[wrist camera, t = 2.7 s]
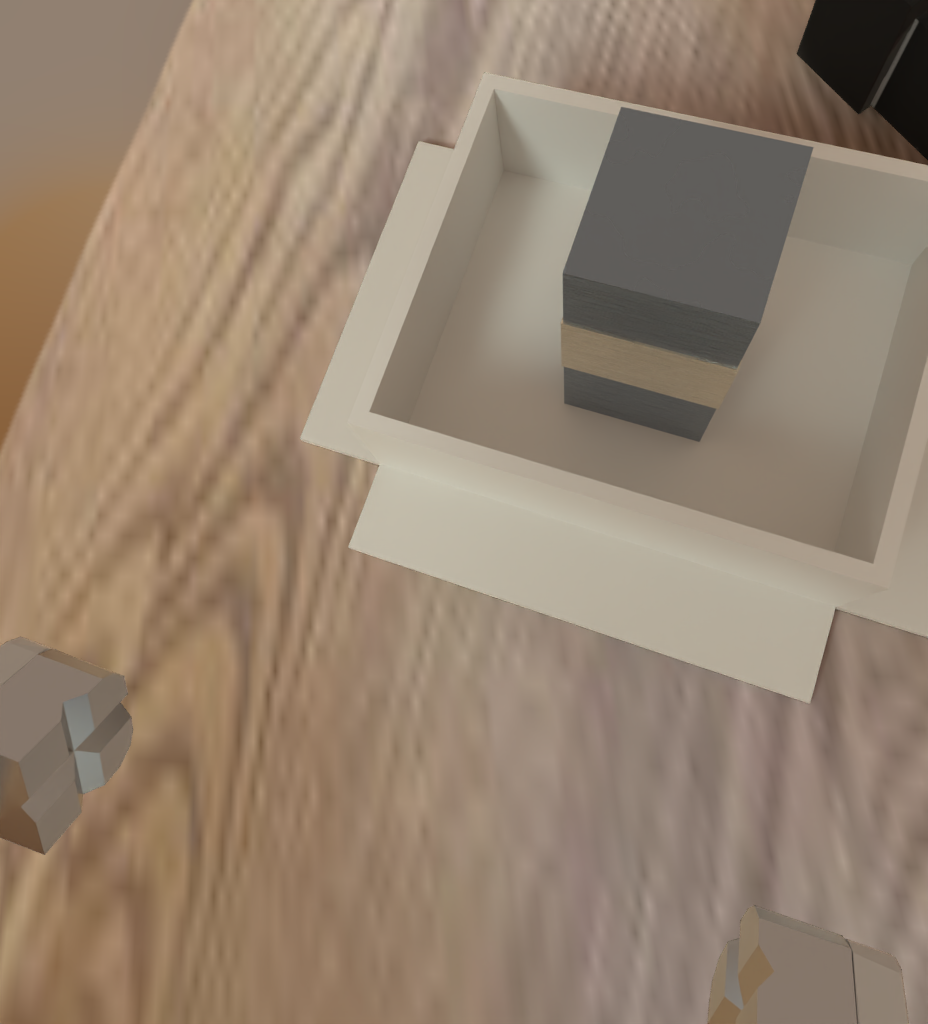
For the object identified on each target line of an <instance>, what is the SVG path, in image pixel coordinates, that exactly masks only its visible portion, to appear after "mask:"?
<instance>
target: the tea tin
mask: <svg viewBox="0 0 928 1024" xmlns="http://www.w3.org/2000/svg"><path fill="white" fill-rule="evenodd" d="M813 148H814V147H810V146H805V145H800V144H796V143H791V142H786V141H781V140H777V139H772V138H767V137H762V136H758V135H753V134H748V133H743V132H739V131H734V130H729V129H724V128H720V127H715V126H710V125H706V124H701V123H696V122H691V121H687V120H682V119H677V118H672V117H668V116H663V115H658V114H653V113H649V112H644V111H639V110H634V109H630V108H625V107H621V109H620V112H619V114H618V117H617V120H616V123H615V126H614V129H613V131H612V134H611V137H610V140H609V143H608V146H607V148H606V151H605V154H604V157H603V160H602V163H601V165H600V168H599V171H598V174H597V177H596V179H595V182H594V185H593V188H592V191H591V194H590V196H589V199H588V202H587V205H586V208H585V211H584V213H583V216H582V219H581V222H580V225H579V228H578V230H577V233H576V236H575V239H574V242H573V245H572V247H571V250H570V253H569V256H568V259H567V262H566V264H565V267H564V270H563V318H562V321H561V365H562V366H563V367H564V403H565V404H568V405H572V406H575V407H579V408H582V409H586V410H589V411H593V412H596V413H600V414H603V415H607V416H610V417H614V418H617V419H621V420H624V421H628V422H631V423H635V424H638V425H642V426H645V427H649V428H652V429H656V430H659V431H663V432H666V433H670V434H673V435H677V436H680V437H684V438H687V439H691V440H694V441H698V442H700V440H701V438H702V436H703V434H704V432H705V430H706V428H707V426H708V424H709V422H710V420H711V419H712V417H713V415H714V413H715V411H716V409H719V408H720V406H721V404H722V402H723V400H724V398H725V396H726V394H727V392H728V390H729V388H730V386H731V385H732V383H733V381H734V379H735V377H736V375H737V373H738V371H739V368H740V365H741V362H742V358H743V356H744V354H745V352H746V350H747V348H748V346H749V344H750V343H751V341H752V339H753V337H754V335H755V333H756V331H757V329H758V327H759V325H760V323H761V320H762V316H763V313H764V310H765V306H766V303H767V300H768V296H769V293H770V290H771V287H772V283H773V280H774V277H775V273H776V270H777V267H778V263H779V260H780V257H781V253H782V250H783V247H784V244H785V240H786V237H787V234H788V230H789V227H790V224H791V220H792V217H793V214H794V210H795V207H796V204H797V201H798V197H799V194H800V191H801V187H802V184H803V181H804V177H805V174H806V171H807V167H808V164H809V161H810V158H811V154H812V151H813Z"/></svg>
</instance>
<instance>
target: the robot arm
mask: <svg viewBox="0 0 928 1024" xmlns="http://www.w3.org/2000/svg"><path fill="white" fill-rule="evenodd" d="M127 694H128V692H127V687H126V683H125V678H124V676H123V675H120V674H117V673H115V672H112V671H110V670H107V669H104V668H102V667H99V666H97V665H94V664H91V663H89V662H86V661H84V660H81V659H78V658H76V657H73V656H71V655H68V654H65V653H63V652H60V651H57V650H56V649H53V648H51V647H48V646H45V645H42V644H40V643H37V642H34V641H31V640H29V639H26V638H23V637H18V638H16V639H13V640H10V641H7V642H5V643H4V644H3V645H1V646H0V838H2V839H5V840H8V841H10V842H13V843H15V844H18V845H20V846H23V847H26V848H28V849H31V850H33V851H36V852H39V853H41V854H44V855H45V854H46V853H47V852H48V850H49V849H50V848H51V847H52V846H53V845H54V843H55V842H56V841H57V840H58V839H59V838H60V837H61V835H62V834H63V833H64V832H65V831H66V830H67V828H68V827H69V826H70V825H71V824H72V823H73V821H74V820H75V819H76V818H77V817H78V816H79V815H80V813H81V812H82V801H83V794H85V793H87V792H90V791H92V790H94V789H96V788H99V787H101V786H103V785H105V784H106V783H107V782H108V781H109V779H110V778H111V777H112V776H113V775H114V773H115V772H116V771H117V770H118V768H119V767H120V766H121V764H122V762H123V759H124V757H125V755H126V753H127V751H128V749H129V747H130V745H131V739H132V733H133V726H132V718H131V716H130V715H129V713H128V712H127V711H126V709H125V708H124V707H123V705H122V704H121V703H120V702H121V701H122V700H123V698H124V697H125V696H126V695H127ZM707 1024H909V1021H908V1014H907V1006H906V999H905V991H904V984H903V977H902V969H901V967H900V965H899V963H898V961H897V959H896V958H895V957H894V956H892V955H891V954H889V953H886V952H883V951H880V950H877V949H874V948H871V947H868V946H865V945H862V944H859V943H857V942H854V941H851V940H848V939H845V938H844V937H843V936H842V935H839V934H836V933H833V932H830V931H827V930H824V929H822V928H819V927H816V926H813V925H810V924H807V923H804V922H801V921H799V920H796V919H793V918H790V917H787V916H784V915H781V914H778V913H776V912H773V911H770V910H767V909H764V908H761V907H758V906H755V905H754V906H752V907H750V908H748V909H747V911H746V912H745V914H744V915H743V917H742V919H741V920H740V937H739V938H738V939H735V940H731V941H728V942H727V944H726V946H725V948H724V950H723V951H722V953H721V955H720V957H719V960H718V963H717V967H716V970H715V973H714V977H713V980H712V986H711V993H710V999H709V1010H708V1023H707Z"/></svg>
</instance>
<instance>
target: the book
mask: <svg viewBox="0 0 928 1024" xmlns="http://www.w3.org/2000/svg"><path fill="white" fill-rule="evenodd" d="M797 55H798V56H799V57H800V58H801V59H803V60H804V61H805V62H806V63H807V64H808V65H809V66H810V67H811V68H812V69H813V70H814V71H815V72H816V73H817V74H818V75H819V76H820V77H821V78H822V79H823V80H824V81H825V82H826V83H827V84H828V85H829V86H830V87H831V88H832V89H833V90H834V91H835V92H836V93H837V94H838V95H839V96H840V97H841V98H842V99H843V100H844V101H845V102H846V103H847V104H848V105H849V106H850V107H851V108H852V109H853V110H854V111H856V112H857V113H858V114H860V113H861V112H862V111H864V110H865V109H867V108H868V107H870V106H872V107H873V108H874V109H875V110H876V111H877V112H879V113H880V114H881V115H882V116H883V117H884V118H885V119H886V120H887V121H888V122H889V123H890V124H891V125H892V126H893V127H894V128H895V129H896V130H897V131H898V132H899V133H900V134H901V135H902V136H903V137H904V138H905V139H906V140H907V141H908V142H909V143H910V144H911V145H912V146H914V147H915V148H916V149H917V150H918V151H919V152H920V153H921V154H922V155H923V156H924V157H925V158H926V159H927V160H928V0H816V1H815V4H814V7H813V10H812V12H811V15H810V18H809V21H808V24H807V26H806V29H805V32H804V35H803V38H802V40H801V43H800V46H799V49H798V52H797Z"/></svg>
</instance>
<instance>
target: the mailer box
mask: <svg viewBox="0 0 928 1024" xmlns="http://www.w3.org/2000/svg"><path fill="white" fill-rule="evenodd" d="M621 107H625V108H630V109H634V110H639V111H644V112H649V113H653V114H658V115H663V116H668V117H672V118H677V119H682V120H687V121H691V122H696V123H701V124H706V125H710V126H715V127H720V128H724V129H729V130H734V131H739V132H743V133H748V134H753V135H758V136H762V137H767V138H772V139H777V140H781V141H786V142H791V143H796V144H800V145H805V146H810V147H814V148H813V151H812V154H811V158H810V161H809V164H808V167H807V171H806V174H805V177H804V181H803V184H802V187H801V191H800V194H799V197H798V201H797V204H796V207H795V210H794V214H793V217H792V220H791V224H790V227H789V230H788V234H787V237H786V240H785V244H784V247H783V250H782V253H781V257H780V260H779V263H778V267H777V270H776V273H775V277H774V280H773V283H772V287H771V290H770V293H769V296H768V300H767V303H766V306H765V310H764V313H763V316H762V320H761V323H760V325H759V327H758V329H757V331H756V333H755V335H754V337H753V339H752V341H751V343H750V344H749V346H748V348H747V350H746V352H745V354H744V356H743V358H742V362H741V365H740V368H739V371H738V373H737V375H736V377H735V379H734V381H733V383H732V385H731V386H730V388H729V390H728V392H727V394H726V396H725V398H724V400H723V402H722V404H721V406H720V408H719V409H716V411H715V413H714V415H713V417H712V419H711V420H710V422H709V424H708V426H707V428H706V430H705V432H704V434H703V436H702V438H701V440H700V442H698V441H694V440H691V439H687V438H684V437H680V436H677V435H673V434H670V433H666V432H663V431H659V430H656V429H652V428H649V427H645V426H642V425H638V424H635V423H631V422H628V421H624V420H621V419H617V418H614V417H610V416H607V415H603V414H600V413H596V412H593V411H589V410H586V409H582V408H579V407H575V406H572V405H568V404H565V403H564V367H563V366H562V365H561V321H562V318H563V270H564V267H565V264H566V262H567V259H568V256H569V253H570V250H571V247H572V245H573V242H574V239H575V236H576V233H577V230H578V228H579V225H580V222H581V219H582V216H583V213H584V211H585V208H586V205H587V202H588V199H589V196H590V194H591V191H592V188H593V185H594V182H595V179H596V177H597V174H598V171H599V168H600V165H601V163H602V160H603V157H604V154H605V151H606V148H607V146H608V143H609V140H610V137H611V134H612V131H613V129H614V126H615V123H616V120H617V117H618V114H619V112H620V109H621ZM300 439H301V440H302V441H303V442H306V443H310V444H313V445H316V446H319V447H322V448H326V449H329V450H332V451H335V452H338V453H341V454H345V455H348V456H351V457H354V458H357V459H361V460H364V461H367V462H370V463H373V464H376V465H379V468H378V470H377V473H376V475H375V478H374V481H373V483H372V486H371V489H370V491H369V494H368V497H367V499H366V502H365V504H364V507H363V510H362V512H361V515H360V518H359V520H358V523H357V526H356V528H355V531H354V533H353V536H352V539H351V541H350V544H349V548H350V549H352V550H355V551H358V552H361V553H364V554H367V555H370V556H373V557H376V558H379V559H382V560H385V561H388V562H391V563H394V564H397V565H400V566H403V567H406V568H409V569H412V570H415V571H418V572H420V573H423V574H426V575H429V576H432V577H435V578H438V579H441V580H444V581H447V582H450V583H453V584H456V585H459V586H462V587H465V588H468V589H471V590H474V591H477V592H480V593H483V594H486V595H489V596H491V597H494V598H497V599H500V600H503V601H506V602H509V603H512V604H515V605H518V606H521V607H524V608H527V609H530V610H533V611H536V612H539V613H542V614H545V615H548V616H551V617H554V618H557V619H559V620H562V621H565V622H568V623H571V624H574V625H577V626H580V627H583V628H586V629H589V630H592V631H595V632H598V633H601V634H604V635H607V636H610V637H613V638H616V639H619V640H622V641H625V642H628V643H630V644H633V645H636V646H639V647H642V648H645V649H648V650H651V651H654V652H657V653H660V654H663V655H666V656H669V657H672V658H675V659H678V660H681V661H684V662H687V663H690V664H693V665H696V666H699V667H701V668H704V669H707V670H710V671H713V672H716V673H719V674H722V675H725V676H728V677H731V678H734V679H737V680H740V681H743V682H746V683H749V684H752V685H755V686H758V687H761V688H764V689H767V690H770V691H772V692H775V693H778V694H781V695H784V696H787V697H790V698H793V699H796V700H799V701H802V702H805V703H810V702H811V698H812V694H813V691H814V687H815V683H816V679H817V676H818V672H819V668H820V664H821V661H822V657H823V653H824V649H825V646H826V642H827V638H828V634H829V631H830V627H831V623H832V619H833V616H834V612H835V609H837V610H841V611H844V612H847V613H850V614H853V615H857V616H860V617H863V618H866V619H869V620H872V621H876V622H879V623H882V624H885V625H888V626H892V627H895V628H898V629H901V630H904V631H907V632H911V633H914V634H917V635H920V636H923V637H926V638H928V165H924V164H920V163H915V162H910V161H905V160H900V159H896V158H891V157H886V156H881V155H877V154H872V153H867V152H862V151H858V150H853V149H848V148H843V147H838V146H834V145H829V144H824V143H819V142H815V141H810V140H805V139H800V138H796V137H791V136H786V135H781V134H776V133H772V132H767V131H762V130H757V129H753V128H748V127H743V126H738V125H734V124H729V123H724V122H719V121H714V120H710V119H705V118H700V117H695V116H691V115H686V114H681V113H676V112H672V111H667V110H662V109H657V108H652V107H648V106H643V105H638V104H633V103H629V102H624V101H619V100H614V99H610V98H605V97H600V96H595V95H590V94H586V93H581V92H576V91H571V90H567V89H562V88H557V87H552V86H548V85H543V84H538V83H533V82H528V81H524V80H519V79H514V78H509V77H505V76H500V75H495V74H490V73H486V72H484V73H483V76H482V79H481V81H480V84H479V86H478V89H477V91H476V94H475V97H474V99H473V102H472V104H471V107H470V109H469V112H468V114H467V117H466V120H465V122H464V125H463V127H462V130H461V132H460V135H459V138H458V140H457V143H456V145H455V148H454V149H451V148H447V147H442V146H438V145H434V144H429V143H425V142H421V141H419V142H418V144H417V147H416V149H415V152H414V154H413V157H412V159H411V162H410V164H409V167H408V169H407V172H406V174H405V177H404V179H403V182H402V184H401V187H400V189H399V192H398V194H397V197H396V199H395V202H394V204H393V207H392V209H391V212H390V214H389V217H388V219H387V222H386V224H385V227H384V229H383V232H382V234H381V237H380V239H379V242H378V244H377V247H376V249H375V252H374V254H373V257H372V259H371V262H370V264H369V267H368V269H367V272H366V274H365V277H364V279H363V282H362V284H361V287H360V289H359V292H358V294H357V297H356V299H355V302H354V304H353V307H352V309H351V312H350V314H349V317H348V319H347V322H346V324H345V327H344V329H343V332H342V334H341V337H340V339H339V342H338V344H337V347H336V349H335V352H334V354H333V357H332V359H331V362H330V364H329V367H328V369H327V372H326V374H325V377H324V379H323V382H322V384H321V387H320V389H319V392H318V394H317V397H316V399H315V402H314V404H313V407H312V409H311V412H310V414H309V417H308V419H307V422H306V424H305V427H304V429H303V432H302V434H301V437H300Z"/></svg>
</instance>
